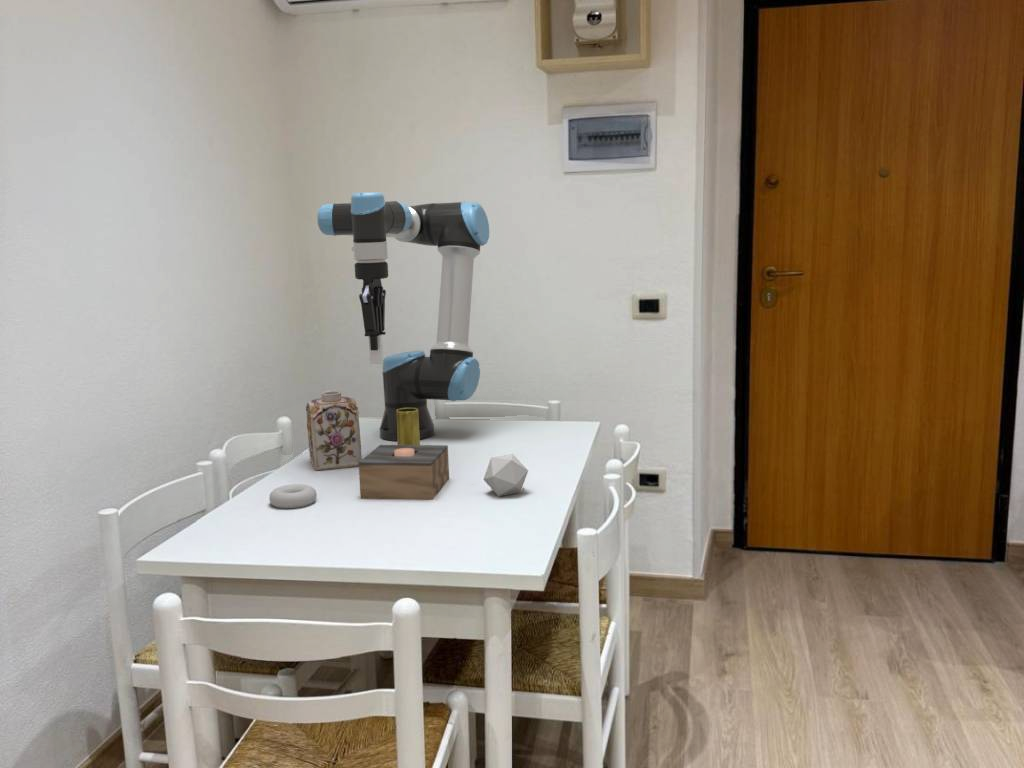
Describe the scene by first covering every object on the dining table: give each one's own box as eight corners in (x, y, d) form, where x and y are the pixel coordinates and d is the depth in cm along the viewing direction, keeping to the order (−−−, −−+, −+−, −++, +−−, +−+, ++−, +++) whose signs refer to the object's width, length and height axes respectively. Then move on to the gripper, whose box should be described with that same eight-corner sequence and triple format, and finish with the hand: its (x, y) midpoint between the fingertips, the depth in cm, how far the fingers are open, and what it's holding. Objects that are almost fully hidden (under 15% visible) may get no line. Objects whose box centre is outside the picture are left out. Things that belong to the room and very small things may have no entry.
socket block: (382, 478, 224) (380, 444, 222) (449, 479, 221) (447, 445, 220) (360, 498, 208) (358, 462, 207) (432, 499, 205) (430, 463, 204)
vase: (418, 470, 229) (415, 412, 227) (394, 470, 230) (390, 412, 228) (425, 464, 235) (423, 407, 233) (401, 463, 236) (398, 407, 234)
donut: (312, 495, 213) (266, 500, 209) (311, 480, 212) (265, 485, 209) (321, 507, 204) (273, 513, 200) (320, 491, 203) (272, 497, 199)
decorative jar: (355, 455, 246) (351, 386, 243) (363, 466, 235) (358, 394, 232) (308, 460, 243) (303, 390, 240) (313, 471, 232) (308, 398, 229)
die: (517, 487, 215) (489, 453, 214) (542, 474, 209) (513, 439, 208) (498, 510, 209) (468, 475, 208) (523, 497, 203) (493, 461, 202)
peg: (399, 480, 217) (397, 447, 216) (418, 480, 216) (416, 447, 215) (393, 486, 213) (391, 452, 211) (413, 486, 212) (411, 452, 211)
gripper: (364, 260, 226) (369, 359, 230) (345, 263, 213) (352, 368, 217) (394, 259, 225) (400, 359, 229) (378, 262, 212) (384, 368, 216)
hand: (376, 363), depth 223 cm, fingers closed
